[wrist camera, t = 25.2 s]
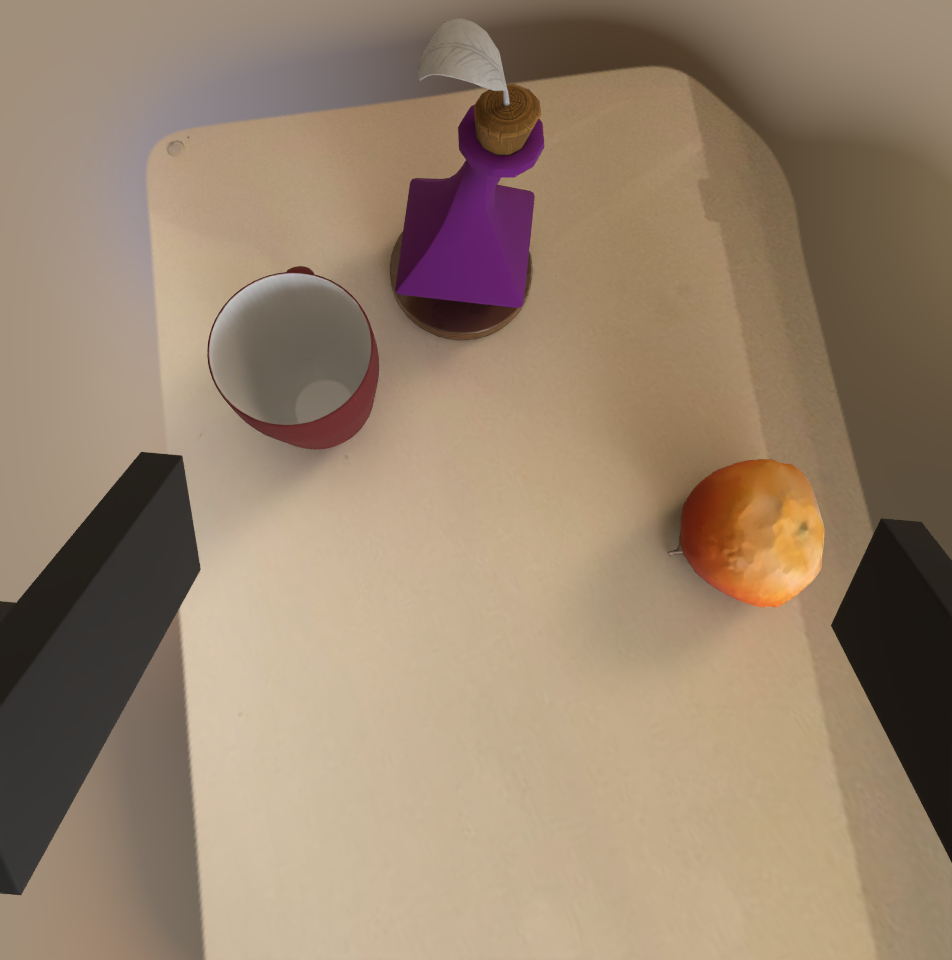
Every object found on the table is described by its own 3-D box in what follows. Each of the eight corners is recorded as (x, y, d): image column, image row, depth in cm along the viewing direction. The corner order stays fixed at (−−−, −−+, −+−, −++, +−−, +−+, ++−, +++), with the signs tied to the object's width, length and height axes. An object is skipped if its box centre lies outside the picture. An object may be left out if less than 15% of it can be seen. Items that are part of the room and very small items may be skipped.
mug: (241, 327, 47) (185, 244, 37) (367, 300, 47) (344, 211, 37) (273, 486, 44) (222, 444, 35) (404, 456, 45) (390, 406, 35)
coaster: (378, 326, 47) (377, 320, 46) (406, 200, 49) (405, 192, 48) (518, 351, 47) (520, 345, 46) (540, 224, 49) (542, 216, 48)
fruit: (654, 446, 44) (770, 432, 37) (739, 488, 48) (858, 482, 41) (627, 578, 42) (742, 589, 36) (717, 610, 46) (837, 625, 39)
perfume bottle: (529, 222, 47) (573, -22, 30) (518, 330, 46) (557, 140, 28) (413, 208, 47) (389, -44, 30) (398, 316, 46) (363, 118, 28)
